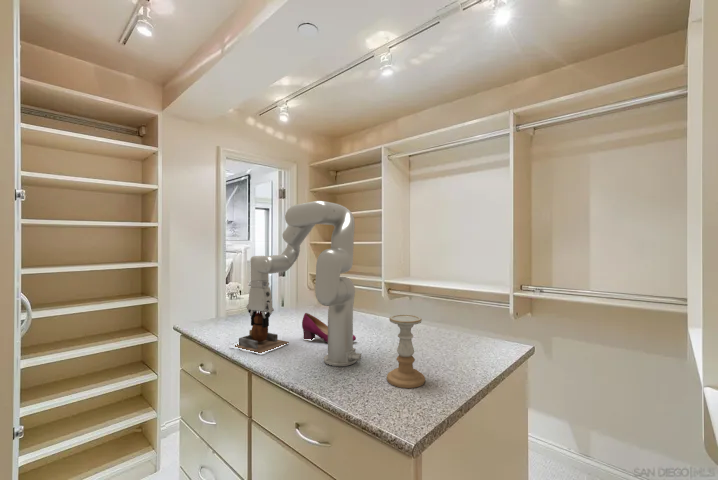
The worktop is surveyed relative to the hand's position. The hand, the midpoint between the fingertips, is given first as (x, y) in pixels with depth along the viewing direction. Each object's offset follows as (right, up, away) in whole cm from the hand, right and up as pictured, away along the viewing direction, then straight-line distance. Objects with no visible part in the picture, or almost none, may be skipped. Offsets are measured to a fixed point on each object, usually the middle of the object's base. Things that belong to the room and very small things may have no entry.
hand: (259, 325), depth 140 cm
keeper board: (0, -9, 0) cm, 9 cm away
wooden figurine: (0, -7, 0) cm, 7 cm away
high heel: (+29, -9, +6) cm, 31 cm away
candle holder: (+58, -9, -35) cm, 68 cm away
